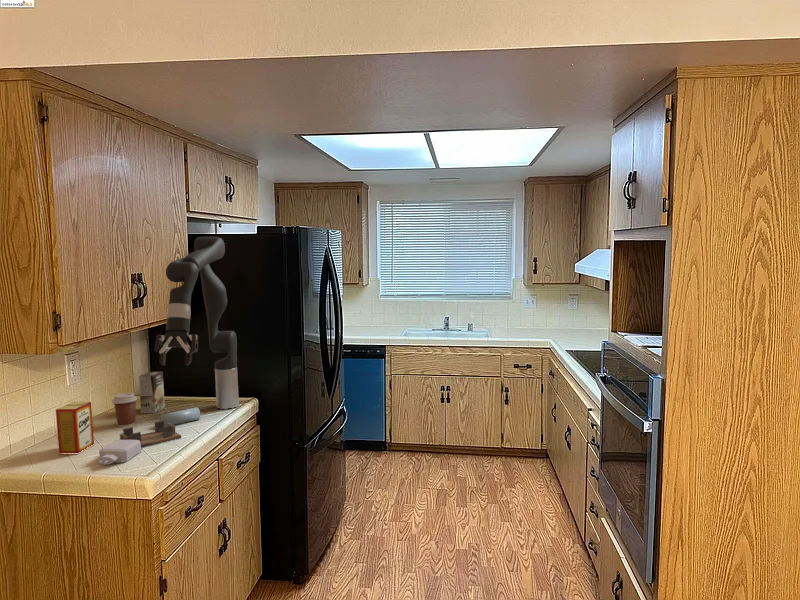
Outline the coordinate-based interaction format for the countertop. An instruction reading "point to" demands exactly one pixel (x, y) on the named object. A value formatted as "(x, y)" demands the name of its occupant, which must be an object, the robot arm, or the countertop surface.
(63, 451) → the baking soda box
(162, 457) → the countertop surface
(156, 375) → the coffee box
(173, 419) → the cylinder
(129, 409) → the coffee cup
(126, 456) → the charger
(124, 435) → the walnut holder
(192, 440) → the countertop surface
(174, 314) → the robot arm
